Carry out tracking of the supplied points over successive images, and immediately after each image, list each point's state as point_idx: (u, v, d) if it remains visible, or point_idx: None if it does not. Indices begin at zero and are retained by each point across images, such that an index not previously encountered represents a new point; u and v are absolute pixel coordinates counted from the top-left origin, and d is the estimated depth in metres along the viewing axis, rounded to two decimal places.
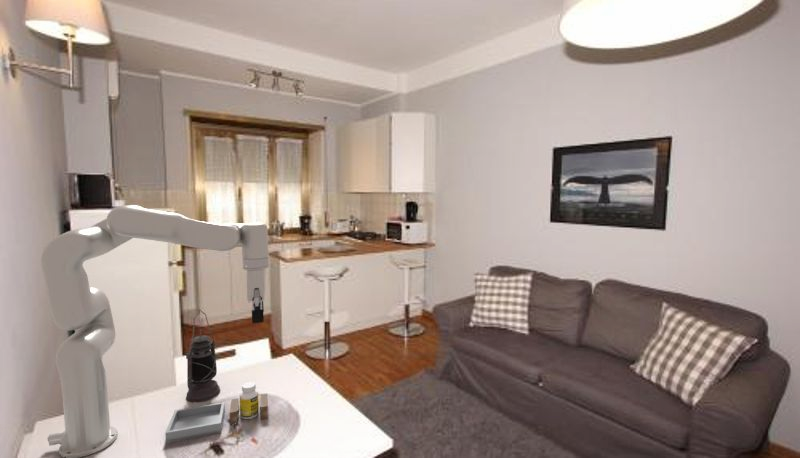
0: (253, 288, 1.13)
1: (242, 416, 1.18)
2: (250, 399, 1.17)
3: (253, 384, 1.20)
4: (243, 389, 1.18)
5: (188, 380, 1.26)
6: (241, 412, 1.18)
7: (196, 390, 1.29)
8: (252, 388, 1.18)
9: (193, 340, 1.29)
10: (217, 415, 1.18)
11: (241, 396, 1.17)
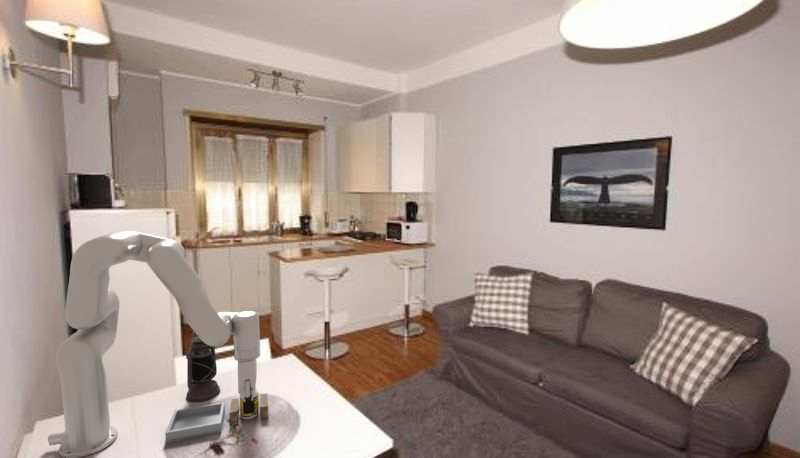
0: (244, 380, 1.14)
1: (242, 416, 1.18)
2: None
3: None
4: None
5: (188, 380, 1.26)
6: (241, 412, 1.18)
7: (196, 390, 1.29)
8: None
9: (193, 340, 1.29)
10: (217, 415, 1.18)
11: (241, 396, 1.17)
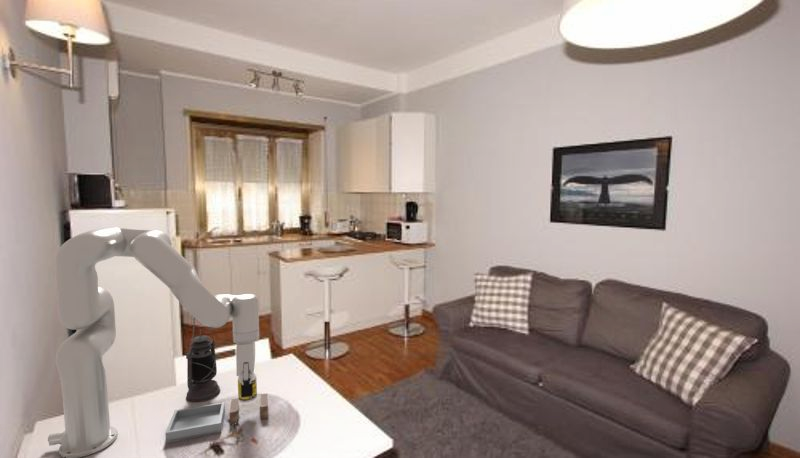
0: (242, 362, 1.13)
1: (240, 399, 1.17)
2: None
3: None
4: None
5: (188, 380, 1.26)
6: (239, 395, 1.17)
7: (196, 390, 1.29)
8: None
9: (193, 340, 1.29)
10: (217, 415, 1.18)
11: (239, 379, 1.17)
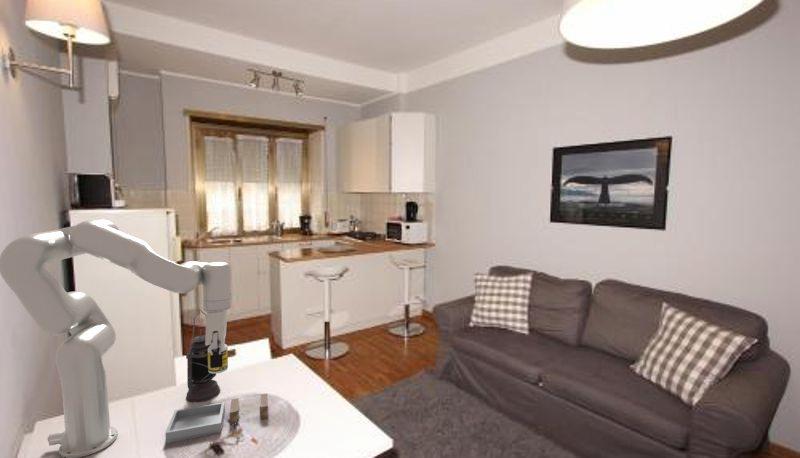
0: (212, 331, 1.09)
1: (210, 370, 1.13)
2: None
3: None
4: None
5: (188, 380, 1.26)
6: (209, 366, 1.13)
7: (196, 390, 1.29)
8: None
9: (193, 340, 1.29)
10: (217, 415, 1.18)
11: (209, 350, 1.13)
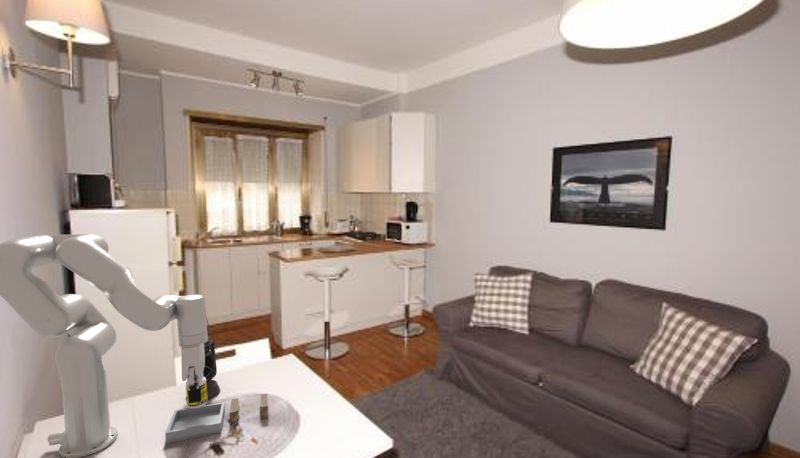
0: (188, 367, 1.08)
1: (189, 405, 1.11)
2: None
3: None
4: None
5: None
6: (187, 401, 1.12)
7: None
8: None
9: None
10: (217, 415, 1.18)
11: (187, 384, 1.11)
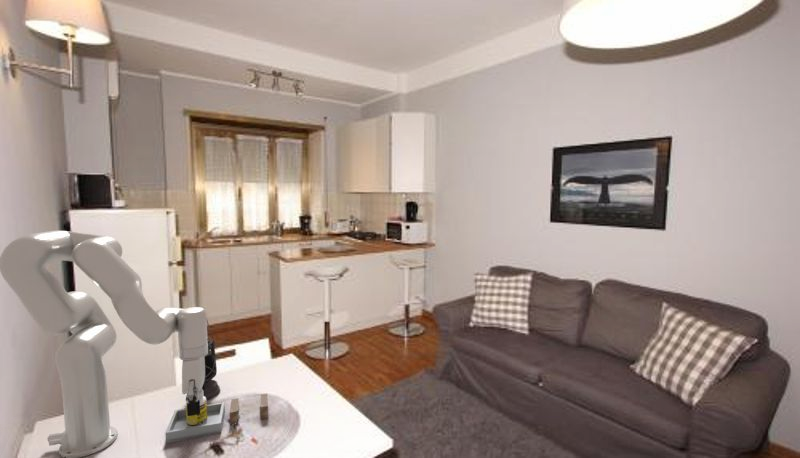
0: (188, 380, 1.08)
1: (188, 425, 1.12)
2: None
3: (201, 391, 1.14)
4: None
5: None
6: (187, 421, 1.12)
7: None
8: None
9: None
10: (217, 415, 1.18)
11: None
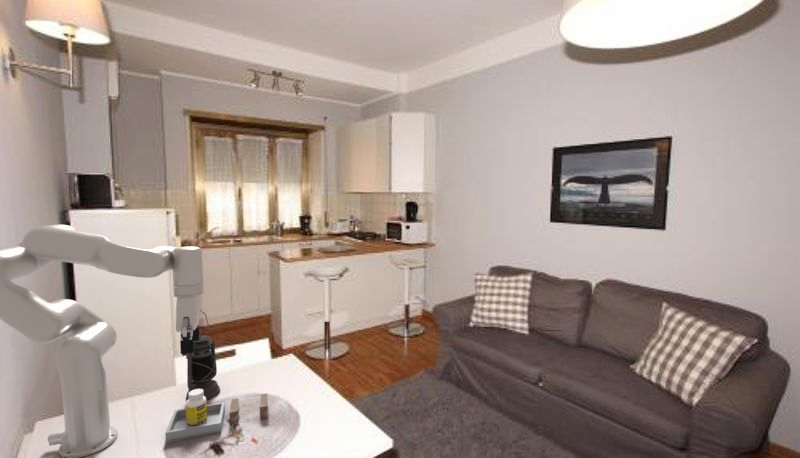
0: (182, 317, 1.06)
1: (188, 425, 1.12)
2: (196, 407, 1.11)
3: (201, 391, 1.14)
4: (189, 396, 1.12)
5: (188, 380, 1.26)
6: (187, 421, 1.12)
7: None
8: (198, 396, 1.12)
9: None
10: (217, 415, 1.18)
11: (187, 404, 1.12)
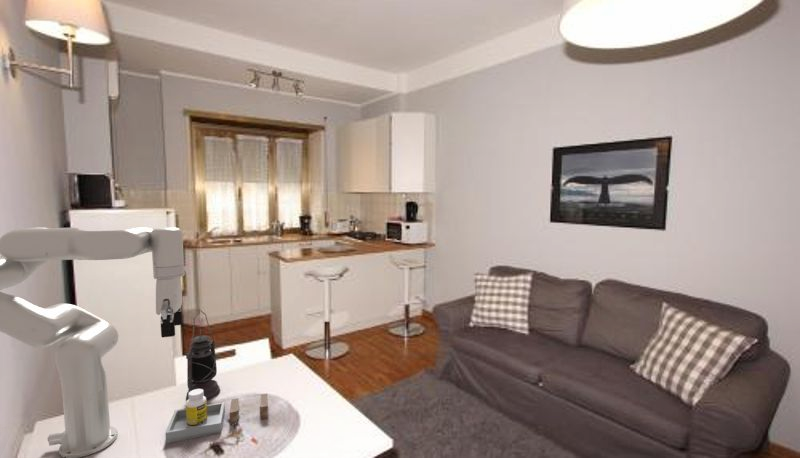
0: (162, 299, 1.03)
1: (188, 425, 1.12)
2: (196, 407, 1.11)
3: (201, 391, 1.14)
4: (189, 396, 1.12)
5: (188, 380, 1.26)
6: (187, 421, 1.12)
7: None
8: (199, 396, 1.12)
9: (193, 340, 1.29)
10: (217, 415, 1.18)
11: (187, 404, 1.12)
